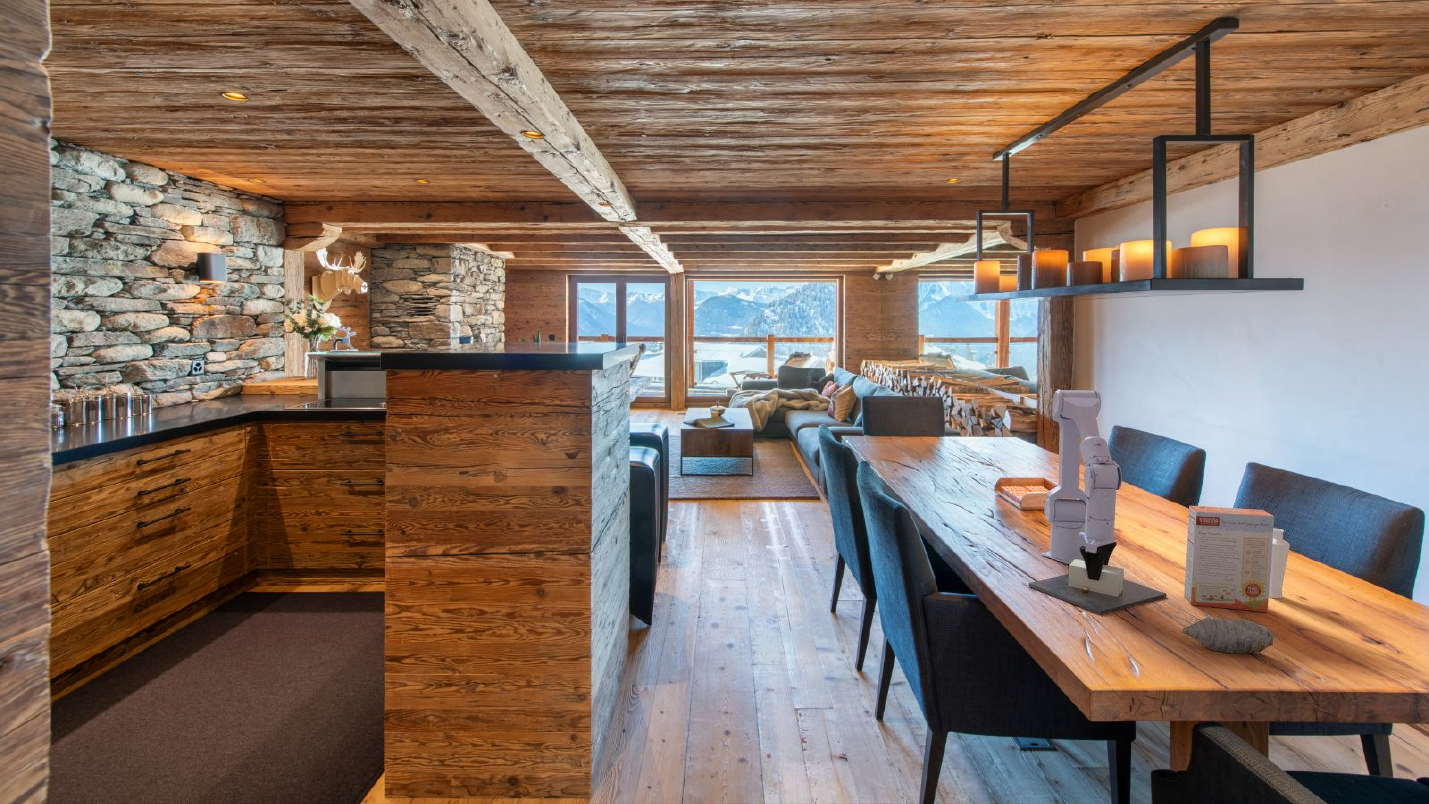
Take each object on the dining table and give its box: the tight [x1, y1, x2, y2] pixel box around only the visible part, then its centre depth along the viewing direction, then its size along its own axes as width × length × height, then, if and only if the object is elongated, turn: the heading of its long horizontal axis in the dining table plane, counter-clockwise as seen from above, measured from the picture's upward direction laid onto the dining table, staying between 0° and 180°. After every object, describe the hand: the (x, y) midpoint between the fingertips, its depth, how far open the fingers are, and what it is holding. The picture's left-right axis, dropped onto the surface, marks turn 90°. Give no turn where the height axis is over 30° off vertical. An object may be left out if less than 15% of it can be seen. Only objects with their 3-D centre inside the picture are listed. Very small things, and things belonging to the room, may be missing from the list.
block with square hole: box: [1068, 559, 1125, 597], centre depth 160 cm, size 10×5×5 cm, turn 49°
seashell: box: [1181, 617, 1275, 654], centre depth 131 cm, size 6×14×8 cm, turn 75°
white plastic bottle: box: [1269, 527, 1291, 599], centre depth 157 cm, size 5×4×15 cm
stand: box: [1028, 573, 1167, 616], centre depth 160 cm, size 22×18×5 cm
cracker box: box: [1183, 505, 1275, 613], centre depth 152 cm, size 14×6×21 cm, turn 71°
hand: (1096, 575), depth 160 cm, fingers open, 5 cm apart
